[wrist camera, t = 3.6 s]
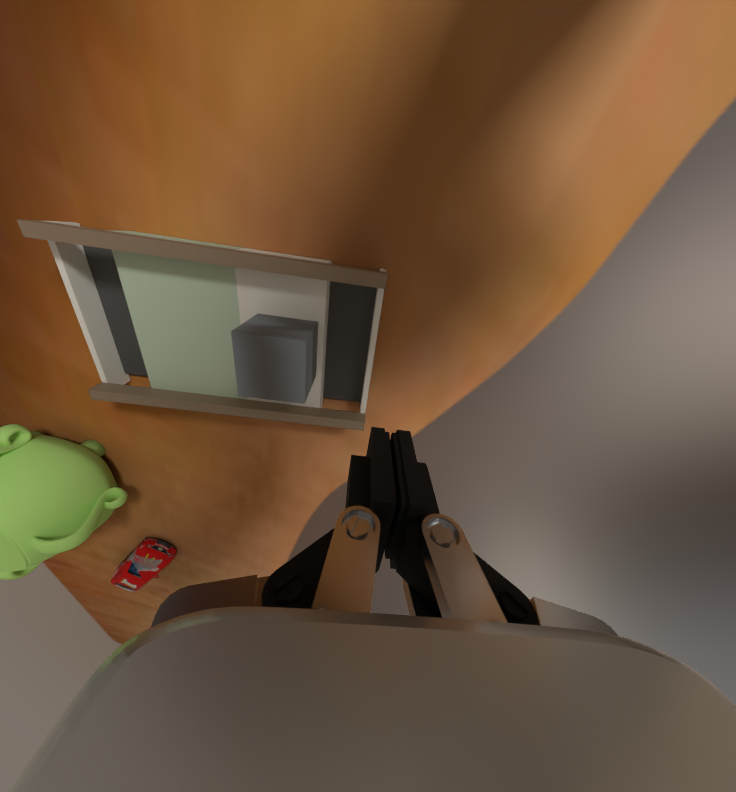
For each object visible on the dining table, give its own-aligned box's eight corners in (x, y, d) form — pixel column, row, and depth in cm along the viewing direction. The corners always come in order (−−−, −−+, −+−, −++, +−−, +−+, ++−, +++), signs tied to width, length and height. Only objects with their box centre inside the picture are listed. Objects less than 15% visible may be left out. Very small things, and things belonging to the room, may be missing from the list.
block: (318, 321, 23) (306, 341, 19) (316, 375, 26) (304, 403, 21) (257, 313, 23) (230, 331, 18) (261, 368, 25) (238, 396, 21)
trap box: (385, 268, 23) (388, 274, 20) (364, 408, 30) (363, 430, 27) (72, 222, 22) (16, 219, 18) (125, 379, 29) (91, 399, 25)
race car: (152, 529, 42) (132, 555, 38) (185, 545, 44) (169, 571, 40) (116, 563, 46) (95, 590, 43) (147, 576, 48) (130, 602, 45)
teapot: (82, 515, 40) (-26, 620, 29) (-25, 448, 34) (-214, 549, 23) (161, 479, 36) (70, 585, 25) (57, 395, 30) (-125, 488, 19)
